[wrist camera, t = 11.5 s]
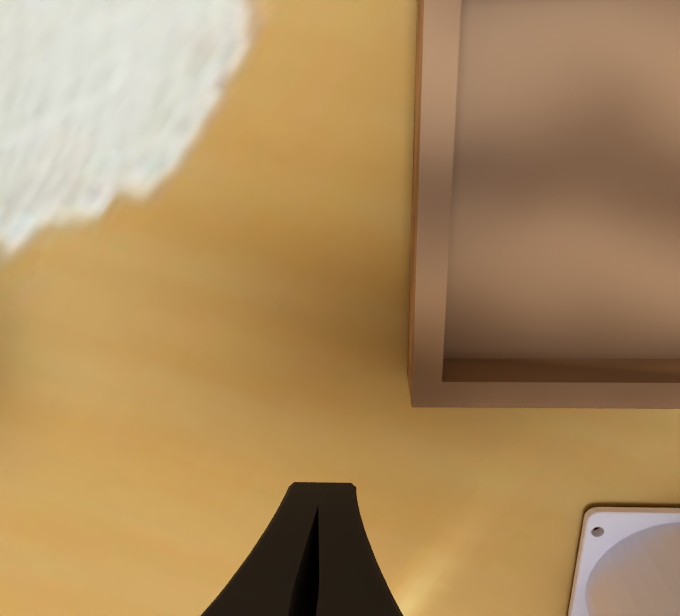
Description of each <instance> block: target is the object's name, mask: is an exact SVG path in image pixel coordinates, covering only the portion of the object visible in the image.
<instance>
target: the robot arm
mask: <svg viewBox="0 0 680 616" xmlns="http://www.w3.org/2000/svg"><path fill="white" fill-rule="evenodd" d="M595 527H600V528H599V529H597V530H592V529H594V528H595ZM201 616H403V614H402V613H401V611H400V609H399V607H398V605H397V603H396V601H395V599H394V598H393V596H392V594H391V592H390V590H389V587H388V585H387V583H386V581H385V579H384V577H383V575H382V573H381V570H380V568H379V566H378V563H377V561H376V559H375V556H374V553H373V551H372V548H371V546H370V543H369V541H368V538H367V535H366V532H365V529H364V526H363V522H362V519H361V516H360V512H359V507H358V502H357V496H356V487H355V486H354V485H353V484H352V483H316V482H294V483H293V484H292V485H290V486H289V488H288V490H287V492H286V494H285V496H284V498H283V500H282V502H281V504H280V506H279V508H278V510H277V511H276V513H275V515H274V517H273V518H272V520H271V522H270V523H269V525H268V527H267V528H266V530H265V531H264V533H263V534H262V536H261V537H260V539H259V541H258V542H257V544H256V545H255V547H254V548H253V550H252V551H251V553H250V554H249V556H248V557H247V558H246V560H245V561H244V562H243V564H242V565H241V566H240V568H239V569H238V570H237V572H236V573H235V574H234V576H233V577H232V579H231V580H230V581H229V583H228V584H227V585H226V586H225V588H224V589H223V590H222V591H221V593H220V594H219V595H218V596H217V597H216V599H215V600H214V601H213V602H212V603H211V605H210V606H209V607H208V608H207V609H206V610H205V611H204V612H203V614H202V615H201ZM568 616H680V508H641V507H594V508H591V509H589V510H588V511H587V512H586V513H585V516H584V521H583V527H582V533H581V539H580V545H579V551H578V557H577V563H576V569H575V575H574V581H573V587H572V593H571V599H570V605H569V611H568Z"/></svg>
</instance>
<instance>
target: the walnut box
mask: <svg viewBox="0 0 680 616" xmlns="http://www.w3.org/2000/svg"><path fill="white" fill-rule="evenodd" d="M407 375H408V382H409V390H410V397H411V404H412V407H470V408H637V409H680V0H417V35H416V73H415V110H414V148H413V186H412V223H411V261H410V299H409V336H408V374H407Z"/></svg>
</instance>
